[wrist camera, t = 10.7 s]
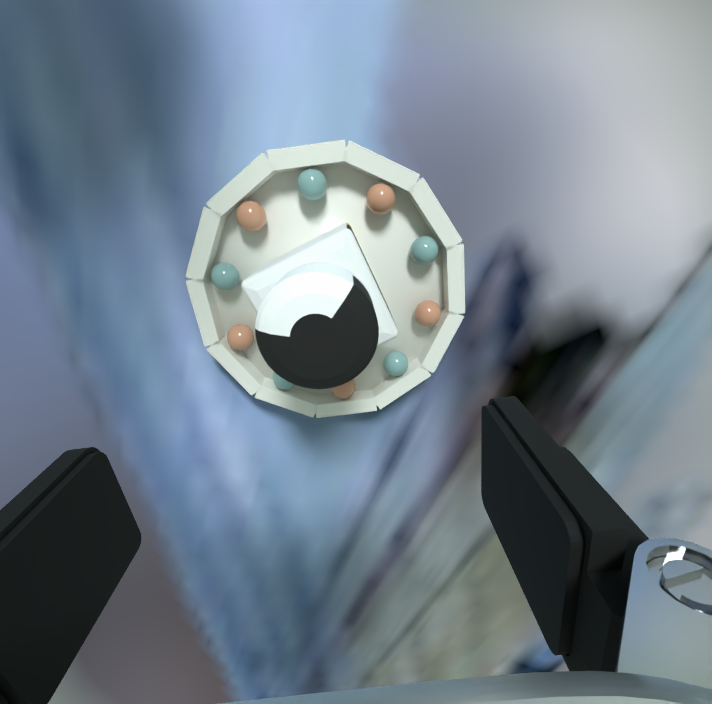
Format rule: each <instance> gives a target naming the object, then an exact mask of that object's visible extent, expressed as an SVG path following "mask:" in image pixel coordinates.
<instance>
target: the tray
mask: <svg viewBox="0 0 712 704" xmlns="http://www.w3.org/2000/svg"><path fill="white" fill-rule="evenodd" d="M267 155H268V156H267ZM267 155H266V154H265V153H263V152H262V153H261V154H260V155H259V156H258V157H257V158H255V159H254V160H253V161H252V162H251V163H250V164H249V165H248V166H247V167H245V168H244V169H243V170H242V171H241V172H240V173H239V174H238V175H237V176H235V177H234V178H233V179H232V180H231V181H230V182H229V183H228V184H227V185H225V186H224V187H223V188H222V189H221V190H220V191H219V192H218V193H217V194H215V195H214V196H213V197H212V198H211V199H210V200H209V201H208V202H207V203H206V204H207V205H208V206H209V207H203V211H202V215H201V219H200V222H199V226H198V230H197V234H196V238H195V241H194V245H193V249H192V253H191V257H190V260H189V264H188V268H187V272H186V276H185V277H187V278H190V279H188V280H186V285H187V288H188V292H189V295H190V299H191V302H192V306H193V309H194V312H195V316H196V319H197V323H198V326H199V330H200V333H201V337H202V340H203V343H204V346H209V347H208V348H207V349H206V350H207V351H208V352H209V353H210V354H211V355H212V356H213V357H214V358H215V359H216V360H217V361H218V362H219V363H220V364H221V365H222V366H223V367H224V368H225V369H226V370H227V371H228V372H229V373H230V374H231V375H232V376H233V377H234V378H235V379H236V380H237V381H238V382H239V383H240V384H241V385H242V386H243V387H244V389H245V390H246V391H247V392H248V393H249V394H250V395H251V396H252V395H253V394H254V393H256V392H257V393H256V395H255V398H257V399H260V400H263V401H266V402H269V403H272V404H275V405H278V406H280V407H283V408H286V409H289V410H292V411H295V412H298V413H301V414H304V415H307V416H309V417H312V418H313V417H314V415H315V413H316V417H317V418H322V417H330V416H338V415H346V414H355V413H363V412H371V411H377V407H376V405H377V406H378V407H379V409H382V408H383V407H385V406H386V405H388V404H389V403H391V402H392V401H394V400H395V399H397V398H398V397H400V396H401V395H403V394H404V393H406V392H407V391H409V390H410V389H412V388H413V387H415V386H416V385H418V384H419V383H421V382H422V381H424V380H425V379H427V378H428V377H430V376H431V374H430V372H433V373H434V371H435V370H436V368H437V366H438V364H439V362H440V360H441V359H442V357H443V355H444V353H445V351H446V349H447V347H448V346H449V344H450V342H451V340H452V338H453V336H454V335H455V333H456V331H457V329H458V327H459V325H460V323H461V322H462V320H463V318H464V316H463V315H462V314H461V313H465V284H464V245H463V244H461V243H460V242H461V241H462V239H461V237H460V235H459V234H458V232H457V231H456V229H455V227H454V226H453V224H452V223H451V221H450V219H449V218H448V216H447V215H446V213H445V211H444V210H443V208H442V207H441V205H440V204H439V202H438V200H437V199H436V197H435V195H434V194H433V192H432V191H431V189H430V187H429V186H428V184H427V183H426V181H425V179H424V178H420V179H418V178H419V175H420V174H418V173H416V172H414V171H412V170H410V169H408V168H406V167H404V166H401V165H399V164H397V163H395V162H393V161H391V160H389V159H387V158H385V157H383V156H381V155H379V154H377V153H375V152H372V151H370V150H368V149H366V148H364V147H362V146H360V145H358V144H356V143H354V142H352V141H350V140H349V143H348V145H347V147H346V146H345V140H338V141H331V142H324V143H316V144H309V145H302V146H294V147H287V148H280V149H272V150H267ZM343 223H349V224H350V226H351V228H352V230H353V232H354V234H355V236H356V239H357V241H358V243H359V245H360V247H361V249H362V251H363V254H364V256H365V258H366V260H367V262H368V264H369V266H370V269H371V271H372V273H373V275H374V277H375V279H376V281H377V284H378V286H379V288H380V290H381V292H382V294H383V297H384V299H385V301H386V303H387V305H388V308H389V310H390V312H391V315H392V317H393V319H394V322H395V324H396V327H397V329H398V335H397V337H396V338H394V339H392V340H390V341H388V342H386V343H383V344H381V345H379V346H377V348H376V351H375V353H374V356H373V358H372V360H371V361H370V363H369V364H368V366H367V367H366V368H365V369H364V370H363V371H362V372H361V373H360V374H359V375H358V376H357V377H355V378H354V379H352V380H351V381H349V382H347V383H345V384H343V385H340V386H337V387H333V388H328V389H310V388H304V387H300V386H297V385H294V384H292V383H290V382H288V381H286V380H285V379H283V378H281V377H280V376H279V375H277V374H276V373H275V372H274V371H273V370H272V369H271V368H270V367H269V366H268V364H267V363H266V362H265V360H264V359H263V357H262V355H261V353H260V351H259V348H258V345H257V341H256V335H255V323H256V317H257V313H256V311H255V309H254V308H253V306H252V304H251V303H250V301H249V299H248V298H247V296H246V294H245V293H244V291H243V289H242V287H241V284H242V282H243V281H244V280H245V279H246V278H247V277H249V276H250V275H251V274H252V273H254V272H255V271H256V270H258V269H259V268H260V267H261V266H263V265H264V264H265V263H267V262H269V261H271V260H273V259H275V258H277V257H279V256H281V255H282V254H284V253H286V252H288V251H290V250H292V249H294V248H296V247H298V246H300V245H302V244H304V243H306V242H308V241H310V240H312V239H314V238H315V237H317V236H319V235H321V234H323V233H325V232H327V231H329V230H331V229H333V228H335V227H337V226H339V225H341V224H343ZM429 371H430V372H429Z"/></svg>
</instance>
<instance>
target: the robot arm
mask: <svg viewBox="0 0 712 704" xmlns="http://www.w3.org/2000/svg"><path fill="white" fill-rule="evenodd" d="M481 492H482V500H483V504H484V507H485V509H486V512H487V514H488V516H489V518H490V520H491V522H492V525H493V527H494V529H495V531H496V533H497V535H498V538H499V540H500V542H501V544H502V546H503V549H504V551H505V553H506V555H507V557H508V559H509V562H510V564H511V566H512V568H513V570H514V572H515V575H516V577H517V579H518V581H519V583H520V586H521V588H522V590H523V592H524V594H525V596H526V599H527V601H528V603H529V605H530V607H531V609H532V612H533V614H534V616H535V618H536V620H537V623H538V625H539V627H540V629H541V631H542V633H543V636H544V638H545V640H546V642H547V644H548V646H549V648H550V650H551V651H552V653H553V654H554V655H562V656H563V658H564V660H565V662H566V665H567V667H568V669H569V671H567V672H536V673H524V674H511V675H499V676H487V677H475V678H463V679H451V680H439V681H429V682H419V683H409V684H400V685H390V686H380V687H371V688H361V689H351V690H342V691H332V692H322V693H313V694H303V695H293V696H284V697H274V698H265V699H256V700H247V701H237V702H228V703H219V704H712V551H711V550H709V549H707V548H705V547H702V546H700V545H698V544H695V543H692V542H688V541H684V540H680V539H676V538H662V537H660V538H655V539H649V538H648V537H647V536H646V535H645V534H644V533H643V532H642V531H641V530H640V529H639V527H638V526H637V525H636V524H635V523H634V522H633V521H632V520H631V519H630V517H629V516H628V515H627V514H626V513H625V512H624V511H623V510H622V509H621V507H620V506H619V505H618V504H617V503H616V502H615V501H614V500H613V499H612V497H611V496H610V495H609V494H608V493H607V492H606V491H605V490H604V489H603V487H602V486H601V485H600V484H599V483H598V482H597V481H596V480H595V479H594V477H593V476H592V475H591V474H590V473H589V472H588V471H587V470H586V469H585V467H584V466H583V465H582V464H581V463H580V462H579V461H578V460H577V459H576V457H575V456H574V455H573V454H572V453H571V452H570V451H569V450H568V449H566V448H565V447H562V446H559V445H558V444H557V443H556V442H555V441H554V440H553V439H552V437H551V436H550V435H549V434H548V433H547V432H546V431H545V429H544V428H543V427H542V426H541V425H540V424H539V423H538V421H537V420H536V419H535V418H534V417H533V416H532V415H531V413H530V412H529V411H528V410H527V409H526V408H525V407H524V405H523V404H522V403H521V402H520V401H519V400H518V399H517V398H516V397H515V396H512V397H503V398H495V399H490V401H489V405H487V406H483V407H482V470H481ZM140 543H141V533H140V530H139V528H138V526H137V523H136V521H135V519H134V517H133V514H132V512H131V510H130V508H129V505H128V503H127V501H126V499H125V496H124V494H123V492H122V490H121V487H120V485H119V483H118V480H117V478H116V476H115V474H114V471H113V469H112V467H111V465H110V462H109V460H108V458H107V456H106V455H105V454H104V453H102V452H100V451H99V450H98V449H96V448H94V447H90V448H82V449H74V450H68V451H66V452H64V453H63V454H62V455H61V456H60V457H59V458H58V459H56V460H55V461H54V462H53V463H52V464H51V465H50V466H49V467H48V468H46V469H45V470H44V471H43V472H42V473H41V474H40V475H39V476H38V477H37V478H35V479H34V480H33V481H32V482H31V483H30V484H29V485H28V486H27V487H26V488H24V489H23V490H22V491H21V492H20V493H19V494H18V495H17V496H16V497H14V498H13V499H12V500H11V501H10V502H9V503H8V504H7V505H6V506H5V507H3V508H2V509H1V510H0V704H47V703H48V702H49V700H50V699H51V697H52V696H53V694H54V692H55V691H56V689H57V687H58V685H59V684H60V682H61V680H62V679H63V677H64V675H65V674H66V672H67V670H68V668H69V667H70V665H71V663H72V661H73V660H74V658H75V656H76V655H77V653H78V651H79V649H80V647H81V646H82V644H83V643H84V641H85V639H86V638H87V636H88V634H89V633H90V631H91V629H92V627H93V626H94V624H95V622H96V621H97V619H98V617H99V615H100V614H101V612H102V610H103V609H104V607H105V605H106V604H107V602H108V600H109V598H110V597H111V595H112V593H113V592H114V589H115V588H116V587H117V585H118V583H119V581H120V579H121V578H122V576H123V575H124V573H125V571H126V569H127V568H128V566H129V564H130V562H131V561H132V559H133V558H134V556H135V554H136V552H137V551H138V549H139V546H140Z"/></svg>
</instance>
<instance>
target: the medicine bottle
mask: <svg viewBox="0 0 712 704" xmlns="http://www.w3.org/2000/svg"><path fill="white" fill-rule="evenodd" d="M241 287H242V289H243V291H244V293H245V294H246V296H247V298H248V299H249V301H250V303H251V304H252V306H253V308H254V309H255V311H256V313H257V317H256V323H255V335H256V341H257V345H258V348H259V351H260V353H261V355H262V357H263V359H264V360H265V362H266V363H267V364H268V366H269V367H270V368H271V369H272V370H273V371H274V372H275V373H276V374H277V375H279V376H280V377H281V378H283V379H285V380H286V381H288V382H290V383H292V384H294V385H297V386H300V387H304V388H310V389H328V388H333V387H337V386H340V385H343V384H345V383H347V382H349V381H351V380H352V379H354V378H355V377H357V376H358V375H359V374H360V373H361V372H362V371H363V370H364V369H365V368H366V367H367V366H368V364H369V363H370V361H371V360H372V358H373V356H374V353H375V351H376V348H377V346H379V345H381V344H383V343H386V342H388V341H390V340H392V339H394V338H396V337H397V335H398V329H397V327H396V324H395V322H394V319H393V317H392V315H391V312H390V310H389V308H388V305H387V303H386V301H385V299H384V297H383V294H382V292H381V290H380V288H379V286H378V284H377V281H376V279H375V277H374V275H373V273H372V271H371V269H370V266H369V264H368V262H367V260H366V258H365V256H364V254H363V251H362V249H361V247H360V245H359V243H358V241H357V239H356V236H355V234H354V232H353V230H352V228H351V226H350V224H349V223H343V224H341V225H339V226H337V227H335V228H333V229H331V230H329V231H327V232H325V233H323V234H321V235H319V236H317V237H315V238H314V239H312V240H310V241H308V242H306V243H304V244H302V245H300V246H298V247H296V248H294V249H292V250H290V251H288V252H286V253H284V254H282V255H281V256H279V257H277V258H275V259H273V260H271V261H269V262H267V263H265V264H264V265H263V266H261V267H260V268H259V269H258V270H256V271H255V272H254V273H252V274H251V275H250V276H249V277H247V278H246V279H245V280H244V281H243V282H242V284H241Z"/></svg>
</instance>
